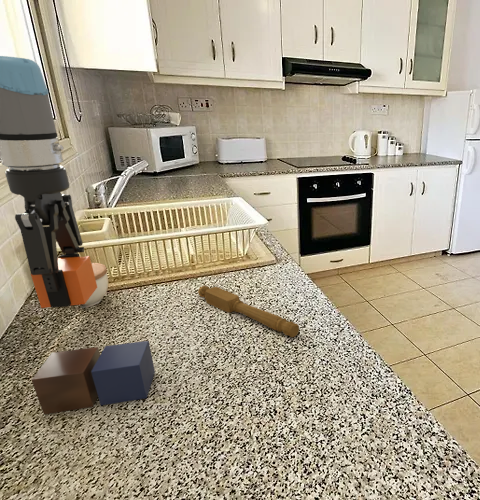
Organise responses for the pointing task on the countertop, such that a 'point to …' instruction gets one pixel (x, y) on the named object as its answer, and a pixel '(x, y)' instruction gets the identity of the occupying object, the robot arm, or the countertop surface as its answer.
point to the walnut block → (67, 380)
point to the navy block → (123, 372)
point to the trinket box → (98, 285)
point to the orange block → (70, 280)
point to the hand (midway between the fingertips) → (69, 295)
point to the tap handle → (246, 310)
